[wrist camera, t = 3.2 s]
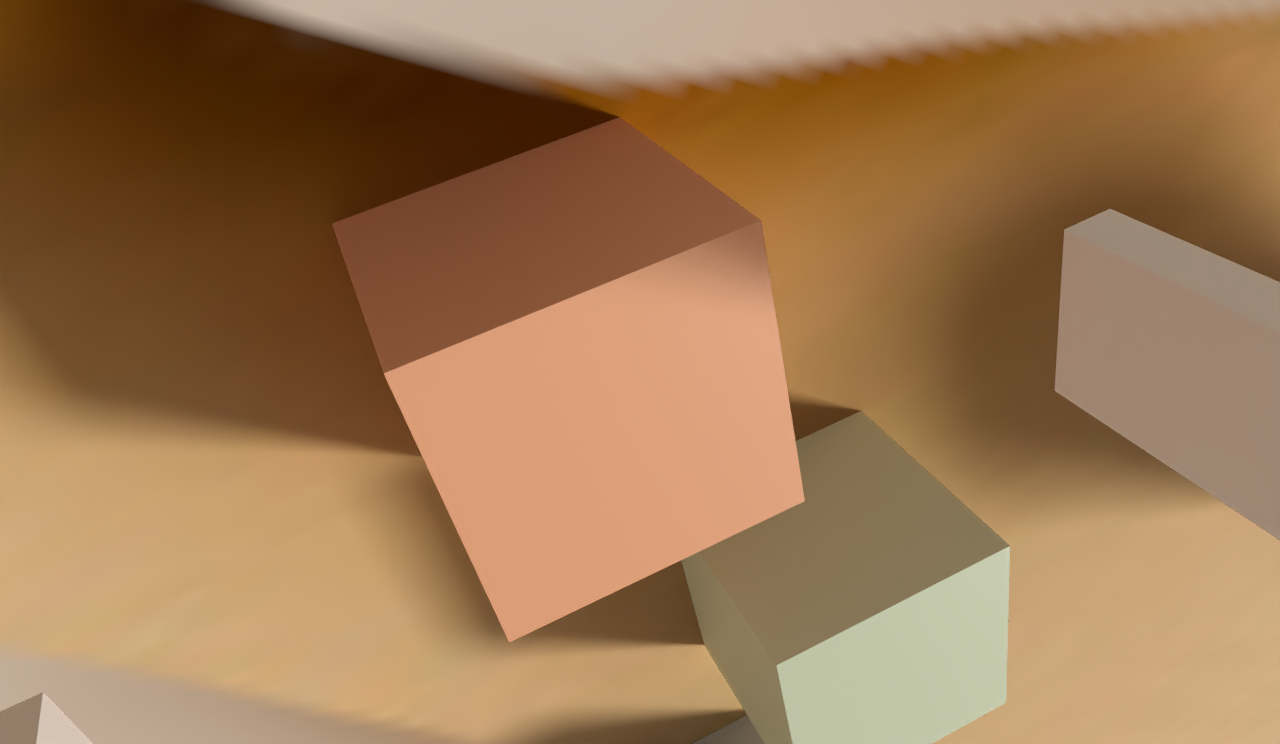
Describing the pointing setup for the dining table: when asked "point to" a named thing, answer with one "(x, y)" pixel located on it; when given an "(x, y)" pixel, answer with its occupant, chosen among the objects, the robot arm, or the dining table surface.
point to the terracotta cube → (581, 364)
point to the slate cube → (734, 734)
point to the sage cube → (859, 602)
